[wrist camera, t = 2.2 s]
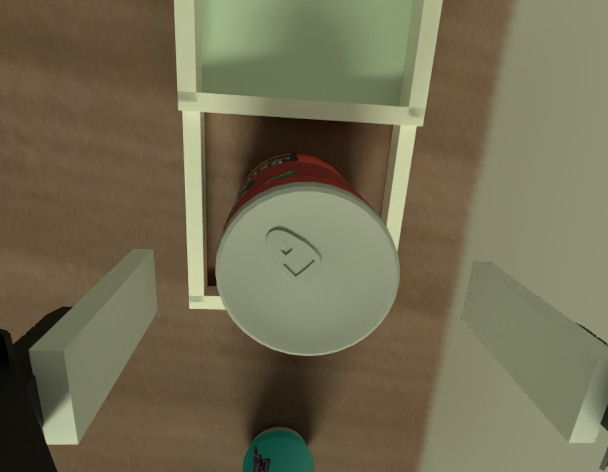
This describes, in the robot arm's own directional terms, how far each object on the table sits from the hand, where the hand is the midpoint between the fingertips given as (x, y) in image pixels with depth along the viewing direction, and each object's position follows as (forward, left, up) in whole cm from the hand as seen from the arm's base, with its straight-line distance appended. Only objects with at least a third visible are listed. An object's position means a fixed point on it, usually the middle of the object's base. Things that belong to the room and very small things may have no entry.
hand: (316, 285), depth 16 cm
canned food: (0, 0, -11) cm, 11 cm away
